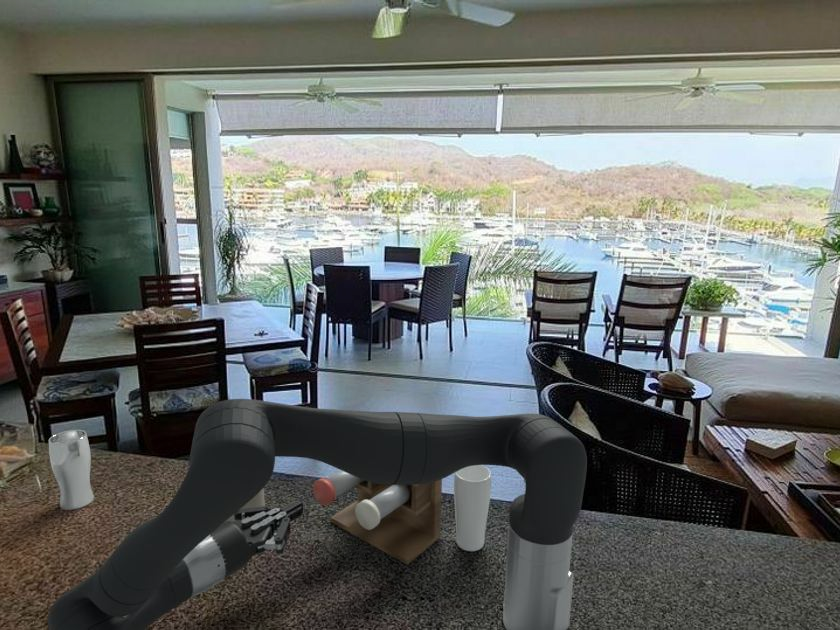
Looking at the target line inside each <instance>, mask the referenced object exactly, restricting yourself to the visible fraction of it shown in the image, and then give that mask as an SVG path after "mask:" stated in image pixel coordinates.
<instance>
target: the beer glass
mask: <svg viewBox="0 0 840 630" xmlns="http://www.w3.org/2000/svg"><path fill="white" fill-rule="evenodd" d="M89 442H90V441H89V439H88V435H87V432H86V430H83V429H70V430H69V429H68V430H65V431H61V432H58V433H56V434H53V435H52V436H50V437H49V439H48V453H49V461H50V467H51V469H52V472H53V475H54V477H55V480H56V482H57V484H58V487H59V493H60V497H59V499H60V500H59V507H60V508H61V509H62V510H66V511H72V510H78V509H81V508H84V507H86V506H87V505H89V504H91V503H92V502H93V501H94V500H95V495H94V493H93V489H92V486H91V482H90V481H91V480H90V478H91V477H90V476H91V466H92V465H91V463H92V459H91V458H92V457H91V447H90V444H89Z"/></svg>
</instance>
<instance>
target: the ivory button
mask: <svg viewBox="0 0 840 630" xmlns="http://www.w3.org/2000/svg"><path fill="white" fill-rule="evenodd" d="M410 497H411V492H410V489H409V487H408V486H407V485H392V486H390V487H389V488H387V489H386V490H384V491H383V492H381V493H379V494H378V495H376V496H375V497H373V498H372V499H370V500H367V499H366V500H363V501H361V502H360V503H358V504H357V505H356V508H355V514H356V518H357V520H358V522H359V523H360V525H361V526H362V527H364V528H365V529H368V530H371V529H373V528H375V527H376V526H377V525H378V524H379V523H380V520H381V519H382V518H384V517H385V516H386V515H388V514H389V513H391V512H392V511H394V510H395V509H397V508H398V507H399V506H401V505H402V504H404V503H405V502H407V501H408V500H409V499H410Z"/></svg>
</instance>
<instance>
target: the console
mask: <svg viewBox="0 0 840 630" xmlns="http://www.w3.org/2000/svg"><path fill="white" fill-rule="evenodd" d="M442 485H443V479H441V480H438V481H435V482H433V483H428V484H418V485H407V486H408V487H409V489H410V492H411V497H410V499H409V500H408V501H407V502H405V503H404V504H402V505H401V506H399V507H398V508H397V509H395V510H394V511H392V512H391V513H389V514H388V515H386V516H385V517H384V518H382V519H381V520H380V523H379V524H378V525H377V526H376V527H375V528H373V529H371V530H368V529H365V528H364V527H362V526H361V525H360V523H359V522H358V520H357V518H356V514H355V508H356V505H357V504H358V503H360V502H361V501H363V500H366V499H367V500H370V499H372V498H373V497H375V496H376V495H378V494H379V493H381V492H383V491H384V490H386V489H387V488H389V487H390V486H392V485H386V484H377V483H372V482H369V481H366V480H364V481H363V482H361V483H359V484H358V485H356V486H354V487H353V488H357V489H358V490H357V491H358V500H356V501H355V502H353V503H351V504H350V505H348V506H347V507H345V508H343V509H342V510H340V511H338V512H337V513H336V514H333V515H332V516H330V523H332V524H334V525H336V526H337V527H339V528H341V529H343V530H344V531H347V532H348V533H350V534H351V535H353V536H355V537H357V538H359V539H361V540H362V541H364V542H366V543H367V544H369V545H371V546H373V547H375V548H377V549H378V550H380V551H382V552H384V553H385V554H387V555H388V556H391V557H393V558H395V559H397V560H398V561H400V562H401V563H403V564H405V565H409V564H410V563H411V562H413V561H414V560H415V559H416V558H417V557H419V556H420V555H422V553H423V552H425V551H426V550H427V549H428V548H429V547H430V546H432V545H433V544H434V543H435V542H436V541H438V540H439V539H440V538H441V531H442V530H441V528H442V527H441V526H442V525H441V524H442V522H441V521H442V493H443V491H442V488H443V486H442Z"/></svg>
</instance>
